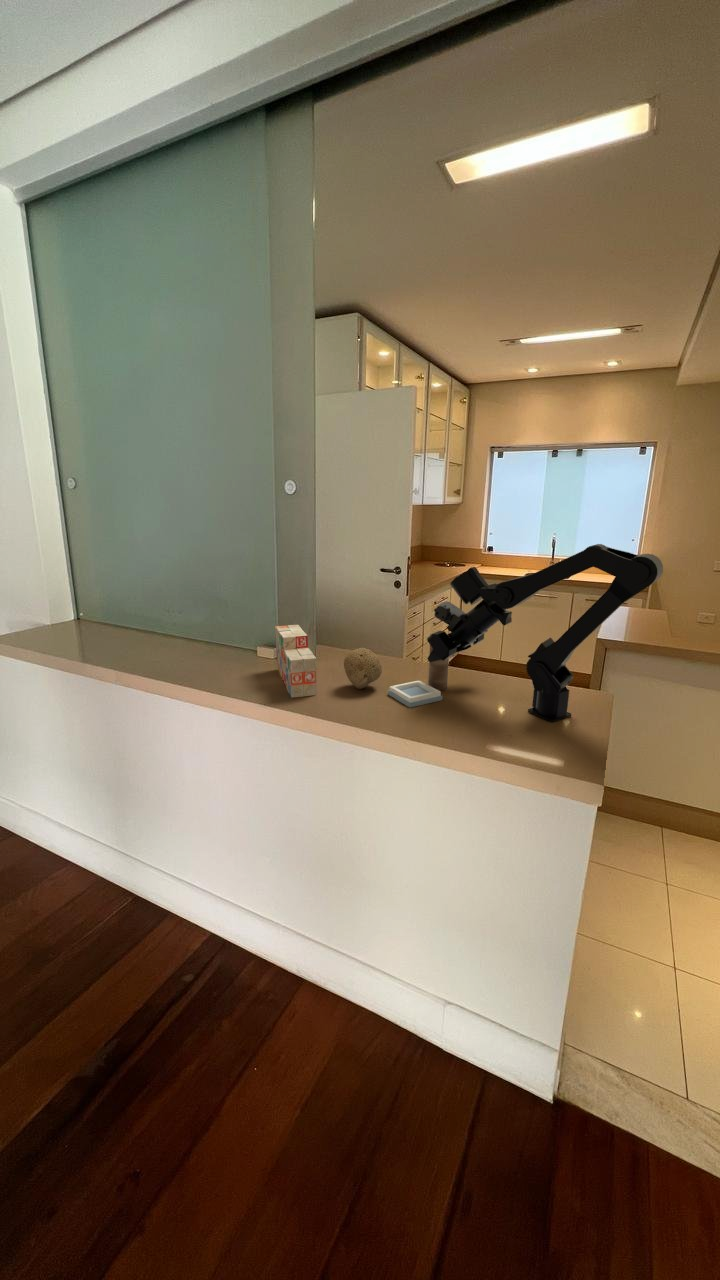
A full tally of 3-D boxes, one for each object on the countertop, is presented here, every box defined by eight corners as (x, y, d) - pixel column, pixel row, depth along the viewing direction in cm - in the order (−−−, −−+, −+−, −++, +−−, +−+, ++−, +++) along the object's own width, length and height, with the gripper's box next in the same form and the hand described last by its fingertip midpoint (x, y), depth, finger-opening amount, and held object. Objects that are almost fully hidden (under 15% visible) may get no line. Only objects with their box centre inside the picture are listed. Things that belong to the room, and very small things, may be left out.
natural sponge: (375, 680, 130) (375, 642, 127) (386, 692, 122) (387, 652, 119) (340, 683, 128) (340, 644, 125) (349, 696, 120) (349, 655, 117)
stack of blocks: (317, 695, 120) (316, 645, 117) (290, 698, 119) (288, 647, 115) (299, 667, 140) (298, 623, 137) (276, 669, 138) (274, 625, 135)
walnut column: (451, 687, 125) (453, 636, 122) (435, 691, 123) (438, 638, 119) (439, 681, 129) (441, 631, 125) (424, 684, 127) (426, 634, 123)
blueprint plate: (442, 699, 118) (442, 691, 117) (409, 707, 113) (409, 699, 113) (419, 687, 125) (419, 679, 125) (387, 694, 121) (387, 686, 120)
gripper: (475, 586, 124) (433, 624, 134) (436, 598, 110) (393, 639, 120) (504, 623, 122) (459, 658, 131) (468, 640, 108) (421, 678, 117)
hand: (433, 657), depth 125 cm, fingers closed on walnut column, 5 cm apart
